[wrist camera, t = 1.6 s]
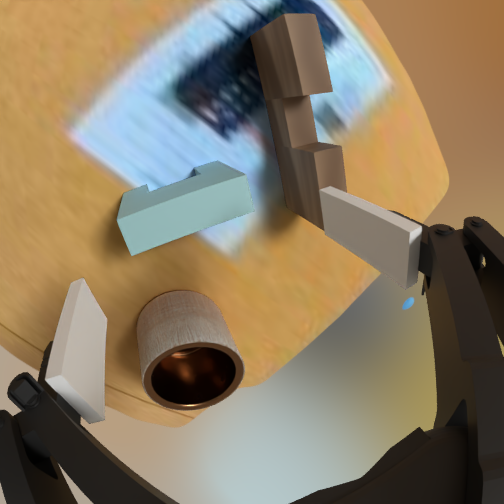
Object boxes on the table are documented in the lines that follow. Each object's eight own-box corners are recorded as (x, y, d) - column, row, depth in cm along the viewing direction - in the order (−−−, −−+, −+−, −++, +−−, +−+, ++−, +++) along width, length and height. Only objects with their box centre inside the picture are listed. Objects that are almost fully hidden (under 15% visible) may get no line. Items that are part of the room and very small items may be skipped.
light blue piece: (133, 219, 29) (131, 256, 21) (123, 193, 27) (116, 220, 20) (224, 187, 31) (254, 211, 23) (217, 160, 29) (246, 174, 22)
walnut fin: (286, 207, 34) (324, 231, 27) (249, 36, 25) (284, 13, 18) (308, 200, 35) (349, 221, 28) (275, 34, 25) (315, 14, 18)
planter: (215, 354, 40) (237, 406, 32) (137, 357, 35) (144, 414, 27) (227, 287, 36) (255, 337, 28) (136, 286, 32) (138, 341, 23)
